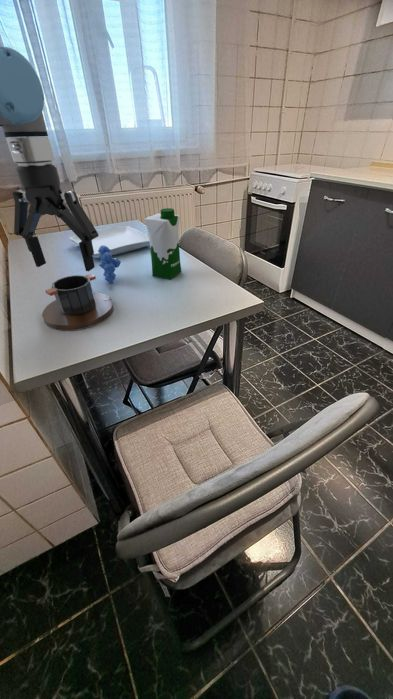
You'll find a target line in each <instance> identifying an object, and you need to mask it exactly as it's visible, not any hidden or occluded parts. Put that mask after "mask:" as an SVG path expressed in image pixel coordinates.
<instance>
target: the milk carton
mask: <svg viewBox="0 0 393 699" xmlns="http://www.w3.org/2000/svg"><path fill="white" fill-rule="evenodd" d="M180 218H181V216H180V215H179V214H175V209H174V208H169V207H167V208H161V209H160V212H159V213H156V214H153V215H150V216H148V217H145V218H144V219H143V220H144V223H145V226H146V229H147V233H148V234H147V235H149V243H150V245H149V250H150V259H151V260H150V261H151V271H152V272H151V275H152V277H156V278H161V279H166V280H168V281H169V280H172V279H174V278H175V277H176V276H178V275H179V274H181V273H182V265H181V264H182V263H181V253H180V252H181V251H180V238H179V236H180V235H179V227H180V226H179V225H180Z"/></svg>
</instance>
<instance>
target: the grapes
mask: <svg viewBox="0 0 393 699" xmlns="http://www.w3.org/2000/svg"><path fill="white" fill-rule="evenodd" d="M98 252H99V253H100V256H99V258H98V259H100V263H99V265H98V266H99V267H100V268H101V269H102V270H103V274H102V275H103V276H104V277H105V278H104V280H105V281H106V282H108V283H114V281H115V280H116V276H117V274H116V273H115V271H116V269H117V268H119V267H120V265H121V263H122V261H121V260H120V259H118V258H116V257H114V256H111V255H110V254H109V252H110V249H109V248H108V247H106V246H104V245H102V246H101V247H100V248H99V250H98Z"/></svg>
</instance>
